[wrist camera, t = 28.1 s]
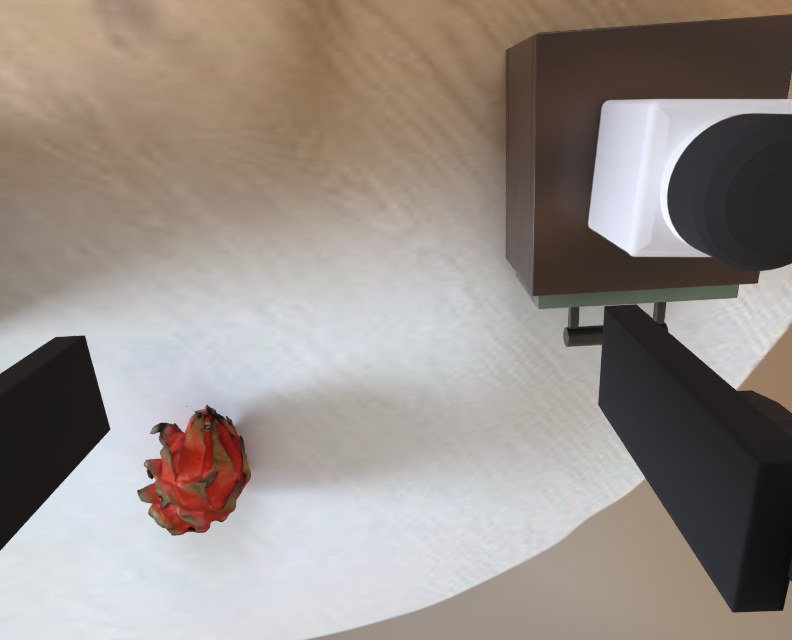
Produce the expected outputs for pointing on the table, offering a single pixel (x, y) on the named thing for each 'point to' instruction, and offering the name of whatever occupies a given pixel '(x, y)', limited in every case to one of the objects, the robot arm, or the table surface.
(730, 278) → the dresser
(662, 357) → the robot arm
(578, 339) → the drawer
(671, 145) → the medicine bottle
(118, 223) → the table surface
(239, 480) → the dragon fruit
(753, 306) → the table surface
